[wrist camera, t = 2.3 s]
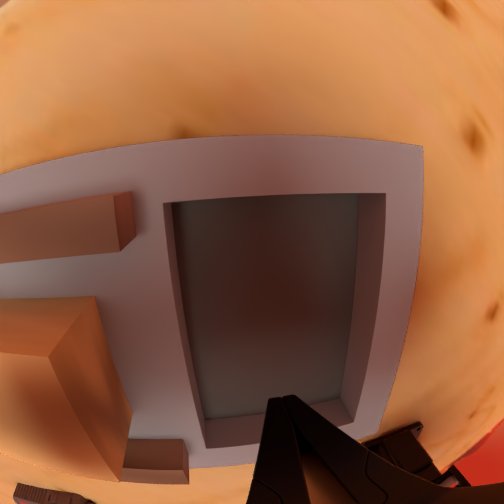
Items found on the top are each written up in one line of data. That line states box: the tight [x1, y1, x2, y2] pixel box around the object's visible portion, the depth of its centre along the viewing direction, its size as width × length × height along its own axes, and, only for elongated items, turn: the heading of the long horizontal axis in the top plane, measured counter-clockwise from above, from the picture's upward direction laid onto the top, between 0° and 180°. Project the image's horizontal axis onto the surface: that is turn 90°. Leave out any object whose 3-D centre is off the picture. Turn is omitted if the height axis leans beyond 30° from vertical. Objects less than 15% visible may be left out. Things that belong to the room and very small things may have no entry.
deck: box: [0, 135, 424, 468], centre depth 11 cm, size 16×36×2 cm, turn 93°
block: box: [0, 296, 133, 482], centre depth 8 cm, size 6×8×4 cm
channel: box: [0, 191, 189, 484], centre depth 9 cm, size 13×14×2 cm
